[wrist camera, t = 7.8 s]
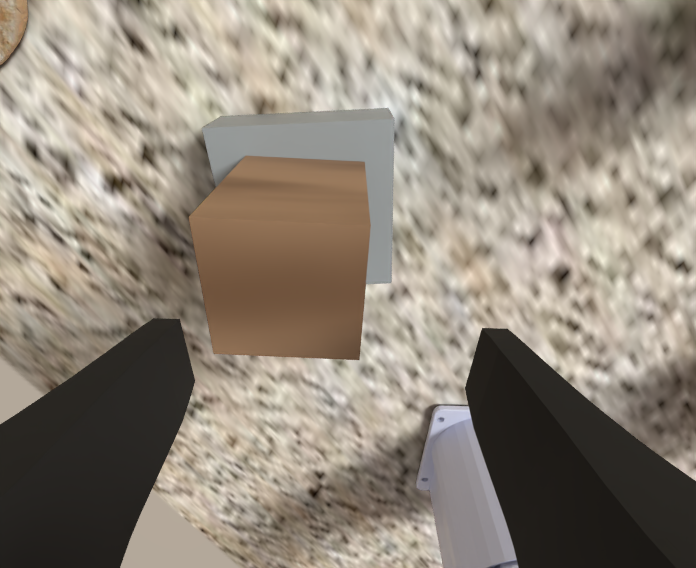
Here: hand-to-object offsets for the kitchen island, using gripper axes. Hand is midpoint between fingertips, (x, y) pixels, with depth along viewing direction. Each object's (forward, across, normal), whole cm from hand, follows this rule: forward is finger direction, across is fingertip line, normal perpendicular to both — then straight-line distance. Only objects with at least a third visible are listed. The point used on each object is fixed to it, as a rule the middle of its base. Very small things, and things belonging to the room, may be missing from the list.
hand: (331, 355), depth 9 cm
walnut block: (+8, +1, 0) cm, 8 cm away
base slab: (+11, +1, 0) cm, 11 cm away
